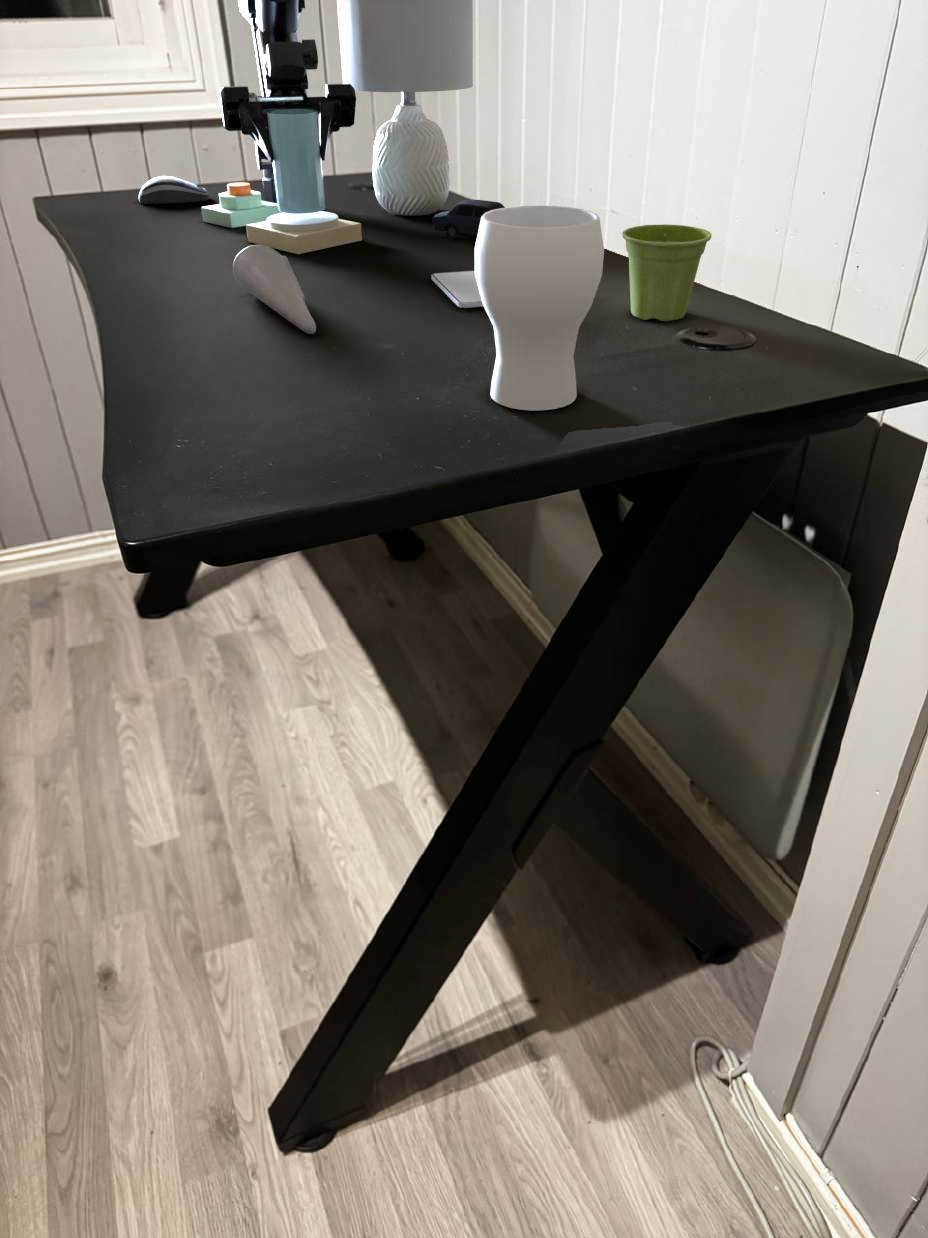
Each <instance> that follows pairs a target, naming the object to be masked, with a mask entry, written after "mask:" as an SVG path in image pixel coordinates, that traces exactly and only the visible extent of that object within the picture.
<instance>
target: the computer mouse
mask: <svg viewBox="0 0 928 1238" xmlns="http://www.w3.org/2000/svg"><path fill="white" fill-rule="evenodd" d="M209 199H210V193H209V191H208V190H207V189H206V188H204V187H203V186H202V185H200V184H195V183H192V182H190V181H187V180H184V179H182V178H178V177H175V176H171V175H170V176H169V175H160V176H156V177H153V178H151V179H150V180H148V181H147V182H146V183H144V184H143V185H142V186H141V188H140V191H139V194H138V201H139V203H141V204H147V205H167V204H169V205H170V204H186V203H199V202H206V201H208V200H209Z"/></svg>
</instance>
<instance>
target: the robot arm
mask: <svg viewBox="0 0 928 1238" xmlns="http://www.w3.org/2000/svg"><path fill="white" fill-rule="evenodd" d="M305 1H306V0H237V2H238V7H239V12H240V13H241V14H242V16H243V17H244V18H245V19H246V21H248V23H249V24H250V25H251V32H252V38H253V45H254V50H255V59H256V65H257V71H258V78H259V85H260V91H261V92H260V93H261V95H257V94H256V93H255V92H250V90H249V86H248V85H237V86H235V85H233V86H222V87H221V88H220V89H219V98H220V107H221V114H222V115H221V116H222V122H223V128H224V130H227V131H228V132H241V134H242V135H244V136H249V137H250V138H251V139H252V140H253V141H254V145H255V147H254V148H255V157H256V164H257V168H258V170H259V171H262V172H263V178H262V181H261V182H262V189H263V198H264V201H266V202H271V203H276V204H277V197H276V188H275V179H274V170H273V153H272V147H271V143H270V135H269V126H268V117H267V112H268V111H272V110H281V109H311V110H316V111H318V116H319V135H320V147H321V159H322V162H323V161H326V156H327V152H328V148H329V147H328V146H329V143H330V140H331V138H332V135H333V133H336V132H339V131H340V130H341V128H351V127H353V126H354V125H355V120H356V119H355V118H356V108H357V107H356V105H357V94H356V91H355V89H354V88H353V86H352V85H351V84H343V83H325V91H324V92H325V95H324V96H308V91H307V90H309V79H308V72H307V71H308V70H310V71H311V70H312V71H313V70H318V67H319V54H318V49H317V43H316V39H314V38H313V39H302V40H301V41H299V40H298V32H297V31H298V28H299V19H301V15H302V13H303V10H305V9H306V2H305ZM262 160H265V161H262Z"/></svg>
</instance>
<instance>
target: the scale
mask: <svg viewBox="0 0 928 1238" xmlns="http://www.w3.org/2000/svg"><path fill="white" fill-rule="evenodd" d="M245 228H246V234H247V235H246V236H247V242H248V243H252V244H254V245H264V246H268V247H270V248H272V249H274V250H275V249H277V250H279V251H284V252H288V253H292V254H295V255H301V254H305V253H311V252H315V251H319V250H324V249H325V250H326V249H329V248H333V247H338V246H343V245H347V244H348V245H349V244H352V243H356V242H361V241H363V235H362V223H360V222H356V221H352V220H346V219H342V218H339V215H338V214H336V213H334V212H330V211H324V210H322V211H319V212H314V213H305V214H292V213H284V212H282V213H279V214H275V215H272V216H269V217H268V218H267V221H263V222H258V223H253V224H247V225H246V226H245Z"/></svg>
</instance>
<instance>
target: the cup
mask: <svg viewBox="0 0 928 1238" xmlns="http://www.w3.org/2000/svg"><path fill="white" fill-rule="evenodd" d="M476 236H477V237H476V241H475V245H474V270H475V277H476V281H477V285H478V288H479V292H480V296H481V300H482V303H483V306H484V307H483V308H484V311H485V312H486V314H487V316H488V318H489V320H490V323H491V325H492V327H493V334H494V342H495V353H496V356H495V362H494V367H493V372H492V378H491V384H490V393H489V395H490V398H491V399H492V400H493V401H494V402H495V403H497V404H499V405H501V406H503V407H507V408H510V409H516V410H520V411H533V412H535V411H549V410H556V409H560V408H564V407H567V406H569V405H571V404H572V403H573V402H575V401H576V399H577V396H578V391H577V376H576V367H575V366H576V365H575V357H574V356H575V349H576V345H577V341H578V340H577V339H578V334H579V331H580V330H579V329H580V327H581V326H582V323H583V322H584V320H585V318H586V316H587V315H588V313H589V311H590V309H591V308H592V305H593V303H594V300H595V297H596V294H597V291H598V289H599V285H600V283H601V280H602V277H603V270H604V269H603V268H604V257H605V247H604V239H603V232H602V225H601V219H600V216H599V215H598V214H597V213H595V212H593V211H591V210H588V209H584V208H577V207H571V206H560V205H542V204H541V205H516V206H505V208H500V209H495V210H491V211H489V212H486V213H484V214H483V215H482V217H481V221H480V226H479V231H478V235H476Z"/></svg>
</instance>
